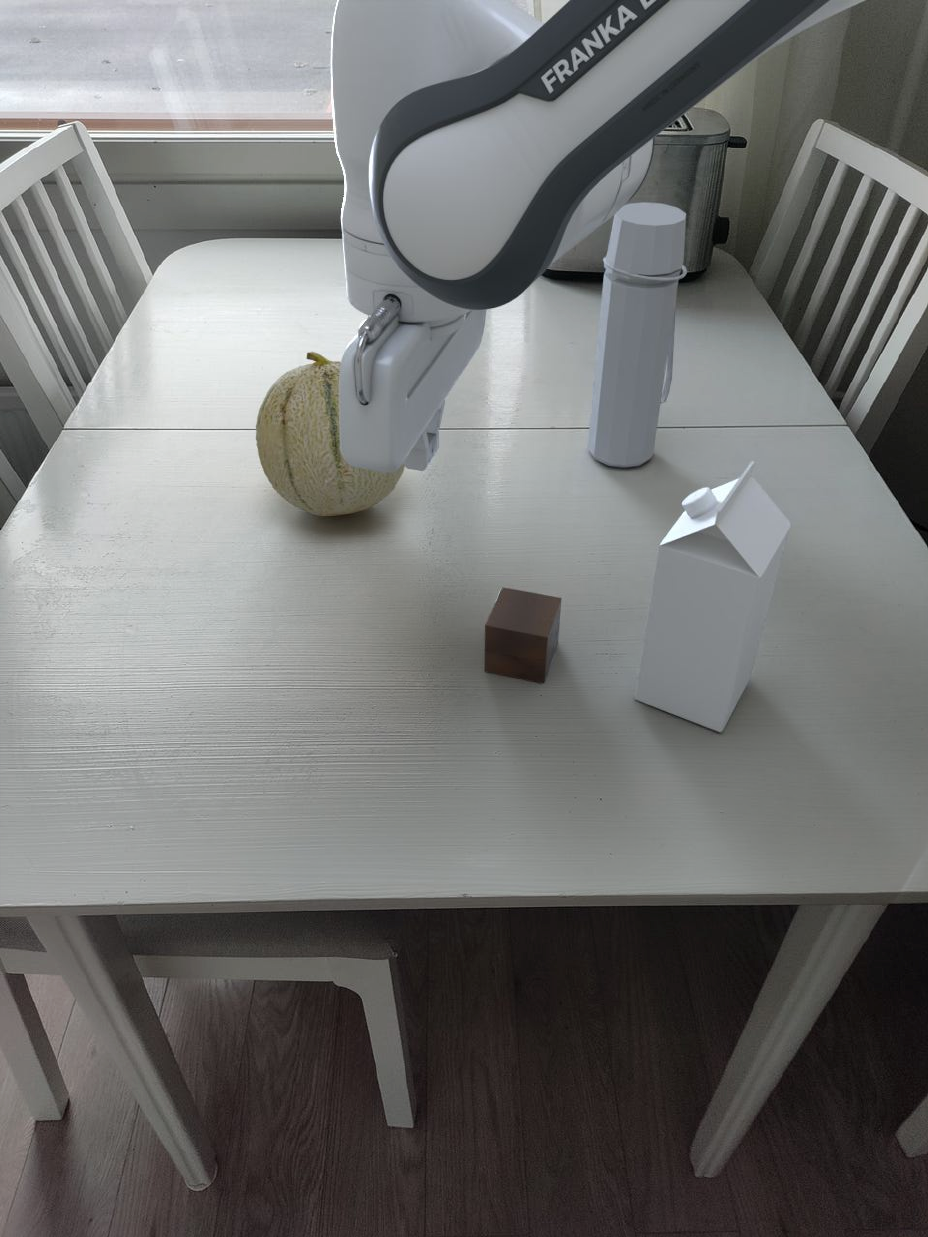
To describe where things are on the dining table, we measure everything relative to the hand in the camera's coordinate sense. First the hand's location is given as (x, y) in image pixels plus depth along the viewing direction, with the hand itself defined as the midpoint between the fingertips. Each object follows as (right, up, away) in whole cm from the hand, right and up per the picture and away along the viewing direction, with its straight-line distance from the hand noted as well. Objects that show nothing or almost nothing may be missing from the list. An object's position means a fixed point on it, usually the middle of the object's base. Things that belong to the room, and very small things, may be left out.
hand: (421, 459), depth 69 cm
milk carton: (+21, -17, +7) cm, 28 cm away
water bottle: (+21, +6, +34) cm, 41 cm away
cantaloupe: (-9, 0, +27) cm, 29 cm away
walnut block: (+8, -15, +10) cm, 19 cm away
